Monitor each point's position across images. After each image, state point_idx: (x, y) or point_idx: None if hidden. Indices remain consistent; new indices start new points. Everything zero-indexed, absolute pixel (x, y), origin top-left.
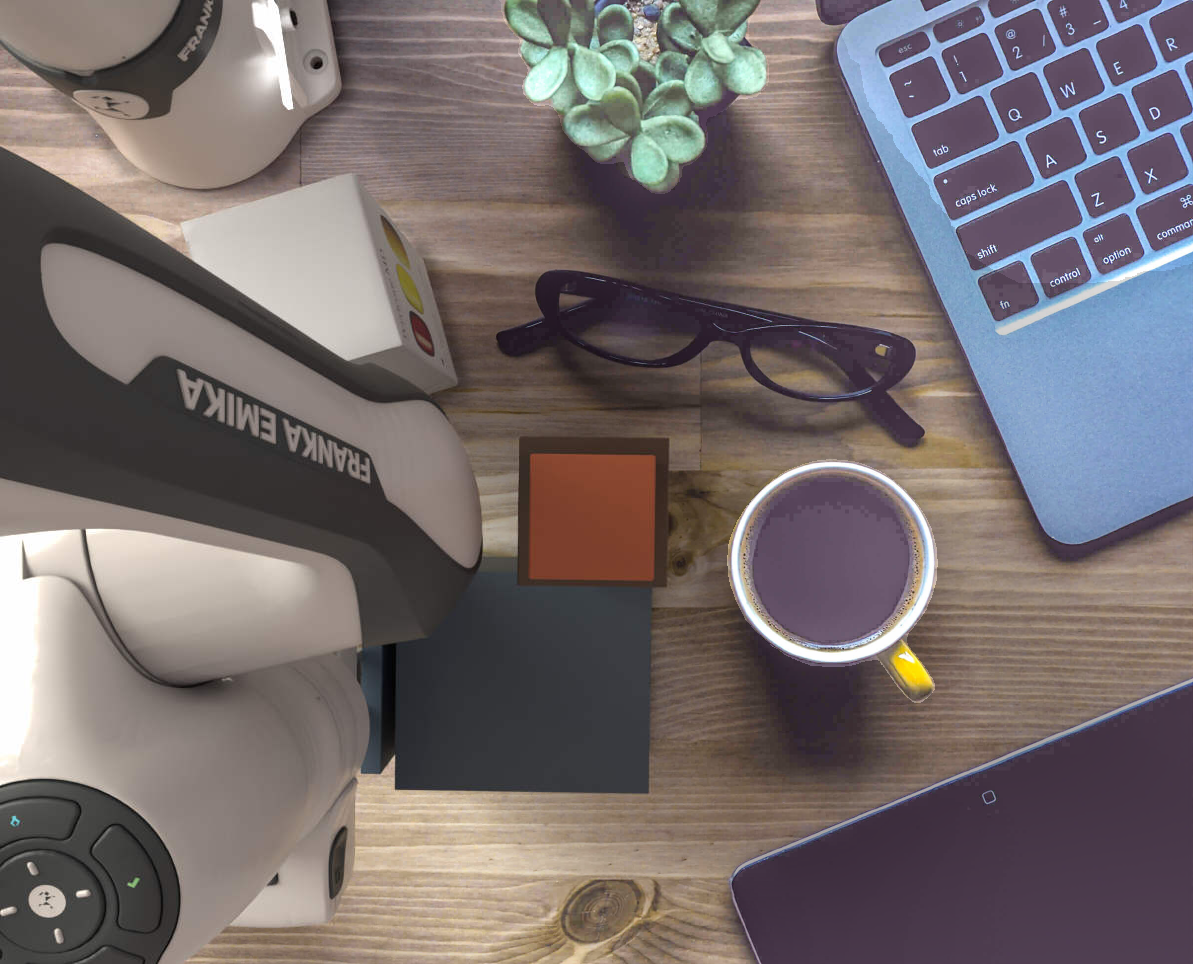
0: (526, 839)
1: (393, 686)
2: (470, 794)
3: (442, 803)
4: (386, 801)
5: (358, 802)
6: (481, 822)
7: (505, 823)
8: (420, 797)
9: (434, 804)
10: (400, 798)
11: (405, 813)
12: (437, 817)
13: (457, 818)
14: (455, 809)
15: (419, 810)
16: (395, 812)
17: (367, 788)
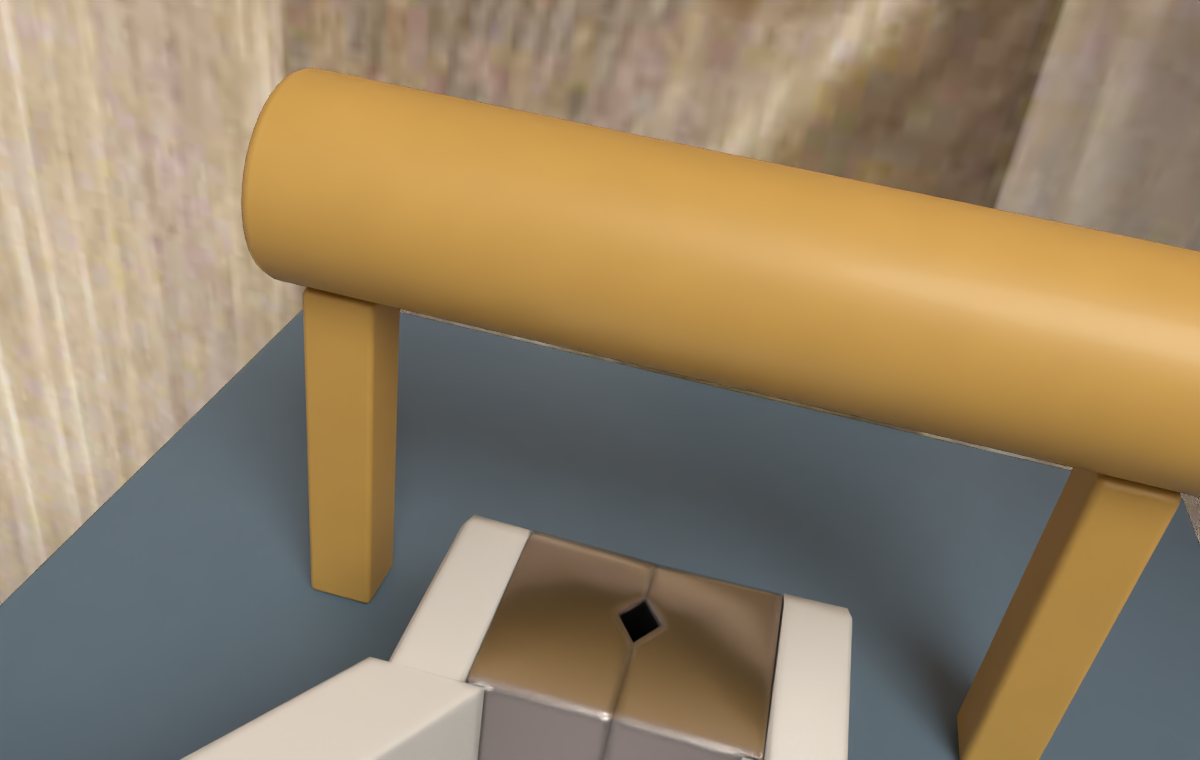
0: (7, 589)
1: None
2: (122, 474)
3: (74, 375)
4: (41, 160)
5: (13, 28)
6: (32, 482)
7: (44, 548)
8: (82, 302)
9: (65, 347)
10: (64, 222)
11: (8, 229)
12: (18, 346)
13: (30, 412)
14: (60, 413)
15: (31, 286)
16: (4, 189)
17: (82, 84)
